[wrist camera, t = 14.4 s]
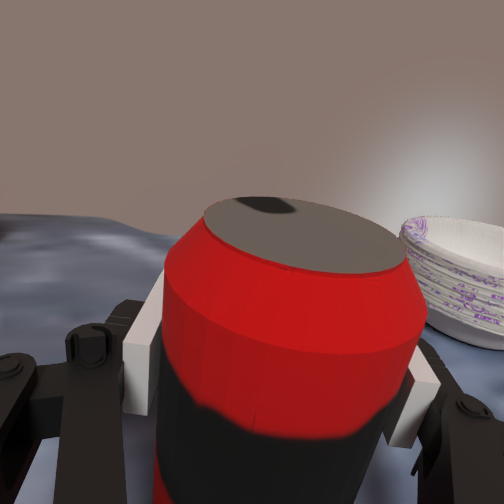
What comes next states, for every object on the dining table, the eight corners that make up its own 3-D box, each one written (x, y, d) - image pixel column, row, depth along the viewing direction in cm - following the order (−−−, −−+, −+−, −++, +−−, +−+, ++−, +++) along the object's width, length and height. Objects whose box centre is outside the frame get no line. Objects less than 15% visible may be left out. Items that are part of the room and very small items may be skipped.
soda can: (271, 401, 20) (318, 187, 15) (377, 541, 14) (506, 269, 9) (130, 454, 16) (132, 189, 11) (198, 676, 10) (262, 330, 6)
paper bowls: (360, 272, 41) (380, 204, 38) (489, 288, 42) (519, 223, 39) (419, 366, 27) (459, 271, 24) (610, 387, 28) (672, 298, 25)
